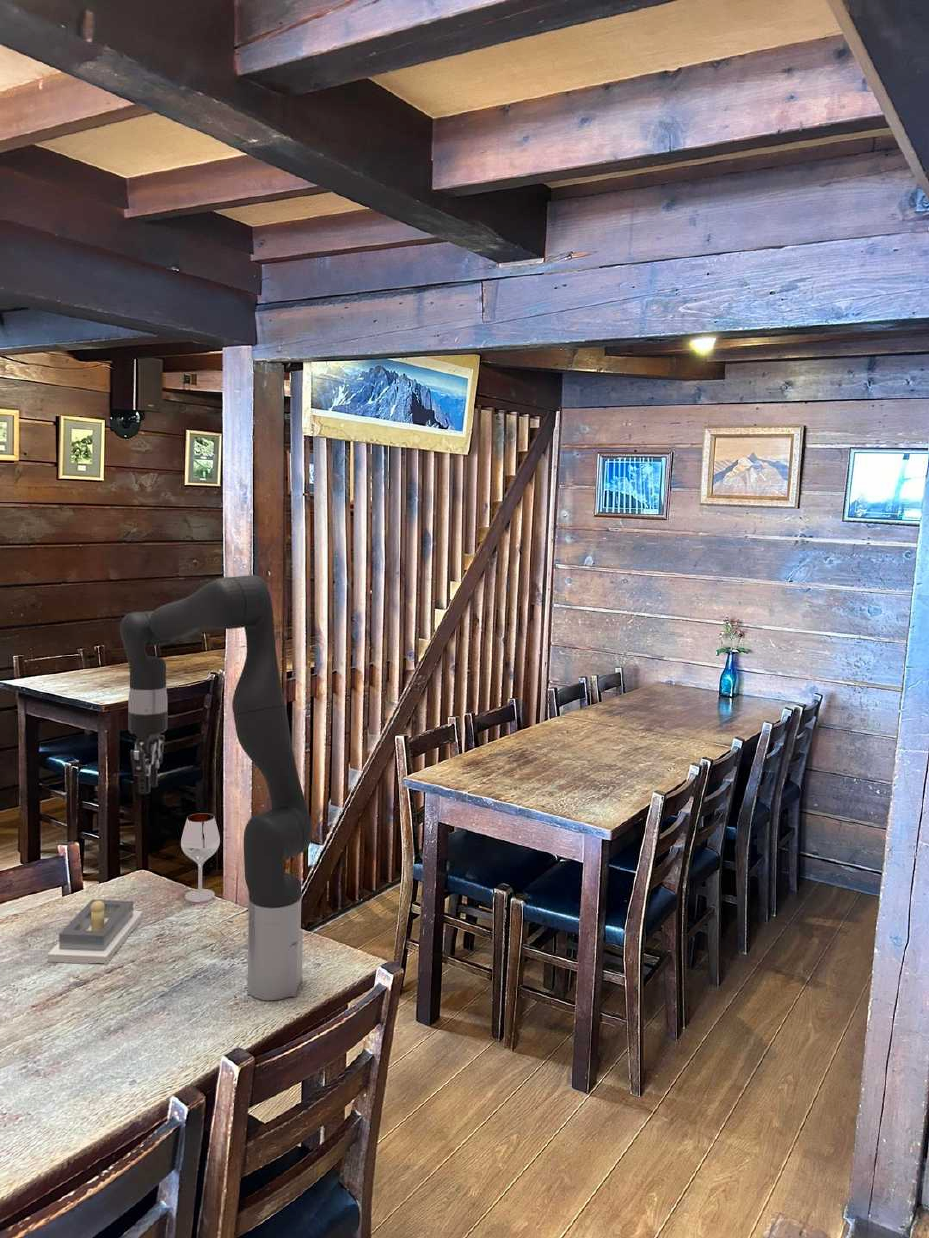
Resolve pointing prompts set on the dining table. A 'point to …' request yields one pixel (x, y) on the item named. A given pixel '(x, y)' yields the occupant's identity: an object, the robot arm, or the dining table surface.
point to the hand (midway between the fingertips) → (148, 789)
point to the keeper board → (96, 954)
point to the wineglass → (200, 848)
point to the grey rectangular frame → (99, 940)
